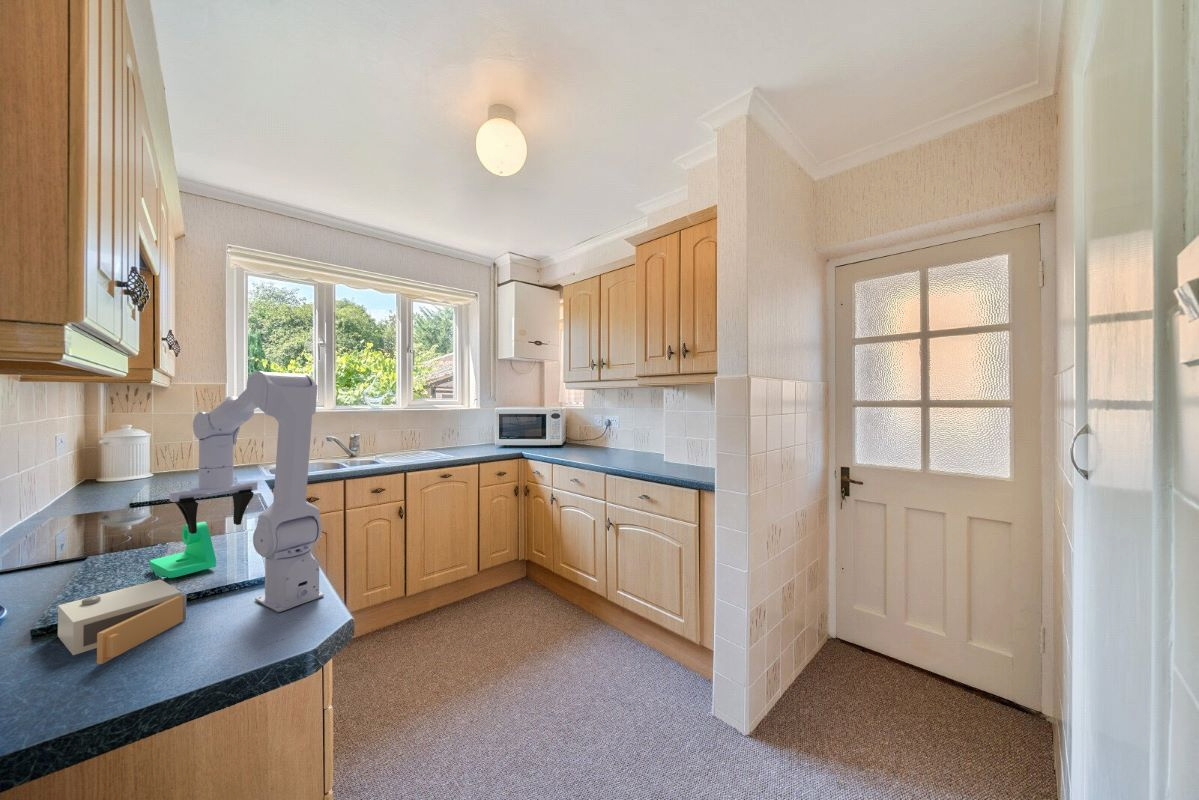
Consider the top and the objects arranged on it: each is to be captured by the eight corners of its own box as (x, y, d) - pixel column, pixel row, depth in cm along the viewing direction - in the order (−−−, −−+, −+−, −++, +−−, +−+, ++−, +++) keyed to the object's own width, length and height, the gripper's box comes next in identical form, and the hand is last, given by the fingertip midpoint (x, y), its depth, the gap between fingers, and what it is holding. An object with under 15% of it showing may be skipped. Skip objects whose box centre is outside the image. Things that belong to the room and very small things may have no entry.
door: (182, 618, 75) (182, 593, 75) (192, 618, 75) (193, 593, 75) (96, 663, 63) (96, 633, 63) (109, 663, 63) (109, 633, 63)
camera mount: (148, 572, 96) (148, 525, 96) (193, 561, 103) (193, 517, 103) (169, 583, 90) (170, 534, 90) (215, 571, 97) (216, 525, 97)
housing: (180, 620, 75) (181, 588, 75) (73, 655, 65) (73, 618, 65) (158, 604, 81) (158, 574, 81) (56, 634, 71) (56, 599, 71)
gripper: (248, 461, 104) (248, 517, 104) (165, 469, 91) (164, 533, 91) (261, 463, 100) (261, 522, 100) (176, 472, 87) (175, 539, 88)
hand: (215, 528), depth 95 cm, fingers open, 7 cm apart
